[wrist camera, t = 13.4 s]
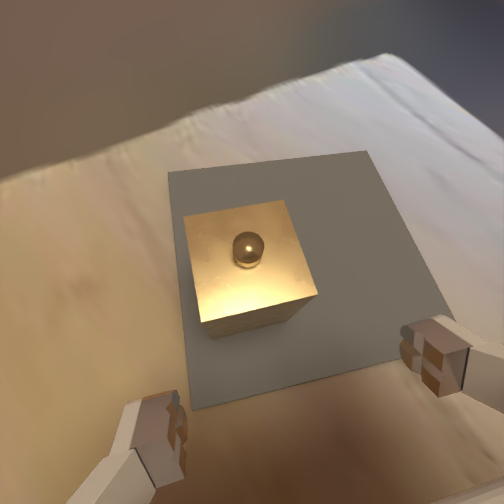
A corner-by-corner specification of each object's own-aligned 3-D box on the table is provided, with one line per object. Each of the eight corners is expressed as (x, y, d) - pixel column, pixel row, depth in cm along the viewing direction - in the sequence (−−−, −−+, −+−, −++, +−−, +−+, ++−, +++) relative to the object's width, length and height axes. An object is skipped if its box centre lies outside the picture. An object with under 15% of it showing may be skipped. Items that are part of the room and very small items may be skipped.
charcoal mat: (458, 342, 21) (466, 341, 21) (193, 409, 18) (192, 410, 17) (363, 155, 30) (366, 150, 29) (169, 177, 26) (167, 172, 26)
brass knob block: (287, 321, 20) (324, 288, 12) (212, 340, 19) (198, 318, 11) (266, 254, 23) (286, 189, 15) (199, 267, 22) (179, 206, 14)
